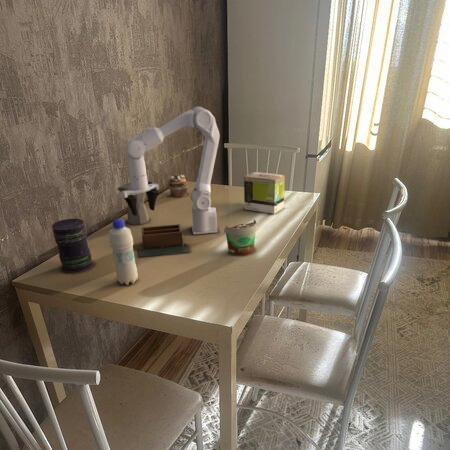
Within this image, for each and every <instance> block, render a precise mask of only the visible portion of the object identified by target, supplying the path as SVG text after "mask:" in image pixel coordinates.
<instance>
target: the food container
mask: <svg viewBox="0 0 450 450" xmlns="http://www.w3.org/2000/svg"><path fill="white" fill-rule="evenodd" d="M258 228H259V227H258V223H257V220H255V219H253V221H251V222H249V223H239V224H237V225H234V226H230V227H229V226H227V225H225V226H224V229H223V232H224V233H225V235H226V245H227V251H228V253H229V254H230V255H232V256H233V255H234V256H248V255H250V254H253V252H254V250H255V243H256V241H255V240H256V233H257V232H258Z"/></svg>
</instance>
